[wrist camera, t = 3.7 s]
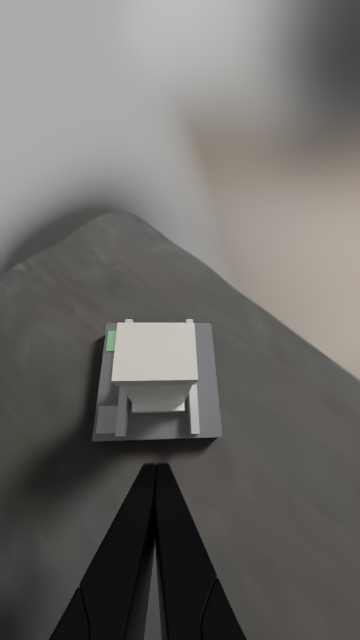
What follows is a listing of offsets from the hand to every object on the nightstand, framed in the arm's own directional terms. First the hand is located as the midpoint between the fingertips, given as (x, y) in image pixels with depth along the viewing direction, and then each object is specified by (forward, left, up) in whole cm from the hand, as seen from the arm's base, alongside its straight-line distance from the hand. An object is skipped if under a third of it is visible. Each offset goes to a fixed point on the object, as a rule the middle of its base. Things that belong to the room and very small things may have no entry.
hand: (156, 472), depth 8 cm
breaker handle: (+4, 0, -7) cm, 8 cm away
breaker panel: (+5, 0, -8) cm, 10 cm away
